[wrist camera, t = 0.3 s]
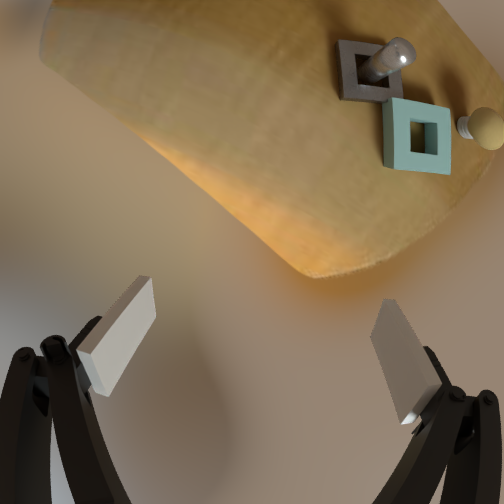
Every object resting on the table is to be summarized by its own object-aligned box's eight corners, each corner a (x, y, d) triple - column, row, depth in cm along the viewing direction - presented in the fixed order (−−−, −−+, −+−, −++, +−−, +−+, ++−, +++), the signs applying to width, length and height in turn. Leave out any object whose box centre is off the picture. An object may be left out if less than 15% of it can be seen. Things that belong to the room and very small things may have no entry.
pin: (355, 63, 31) (387, 34, 19) (376, 66, 30) (413, 41, 18) (357, 83, 32) (391, 60, 20) (378, 85, 31) (418, 66, 19)
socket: (381, 100, 32) (392, 97, 29) (436, 110, 31) (449, 108, 28) (383, 166, 36) (393, 169, 32) (437, 171, 35) (450, 174, 31)
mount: (334, 44, 30) (338, 39, 27) (391, 52, 29) (397, 48, 27) (339, 100, 33) (344, 97, 31) (396, 106, 32) (403, 104, 30)
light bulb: (464, 153, 33) (502, 161, 24) (443, 125, 32) (480, 125, 23) (480, 129, 31) (517, 133, 22) (459, 101, 30) (496, 98, 21)
